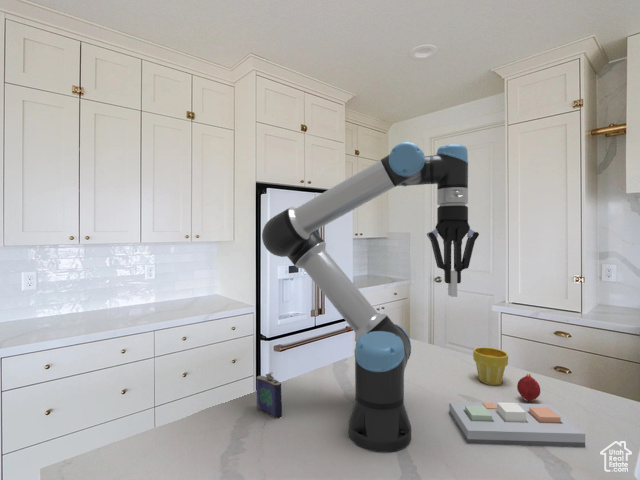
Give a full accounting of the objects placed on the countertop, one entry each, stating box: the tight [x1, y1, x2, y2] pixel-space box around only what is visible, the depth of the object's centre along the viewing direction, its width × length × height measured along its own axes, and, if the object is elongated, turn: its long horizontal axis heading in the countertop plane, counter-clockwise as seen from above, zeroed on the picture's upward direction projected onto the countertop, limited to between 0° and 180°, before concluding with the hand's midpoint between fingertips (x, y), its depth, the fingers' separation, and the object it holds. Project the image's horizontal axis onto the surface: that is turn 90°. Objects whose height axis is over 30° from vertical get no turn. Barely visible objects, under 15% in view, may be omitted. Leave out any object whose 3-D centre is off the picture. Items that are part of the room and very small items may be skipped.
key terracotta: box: [529, 407, 561, 424], centre depth 86 cm, size 5×5×3 cm
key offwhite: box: [496, 402, 526, 423], centre depth 87 cm, size 5×5×3 cm
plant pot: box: [472, 346, 509, 386], centre depth 115 cm, size 10×10×10 cm
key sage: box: [465, 406, 492, 422], centre depth 87 cm, size 5×5×3 cm
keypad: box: [448, 401, 586, 448], centre depth 87 cm, size 26×14×3 cm, turn 87°
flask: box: [255, 372, 283, 419], centre depth 96 cm, size 9×3×11 cm, turn 50°
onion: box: [516, 372, 541, 402], centre depth 101 cm, size 6×6×8 cm
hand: (452, 295), depth 91 cm, fingers closed
